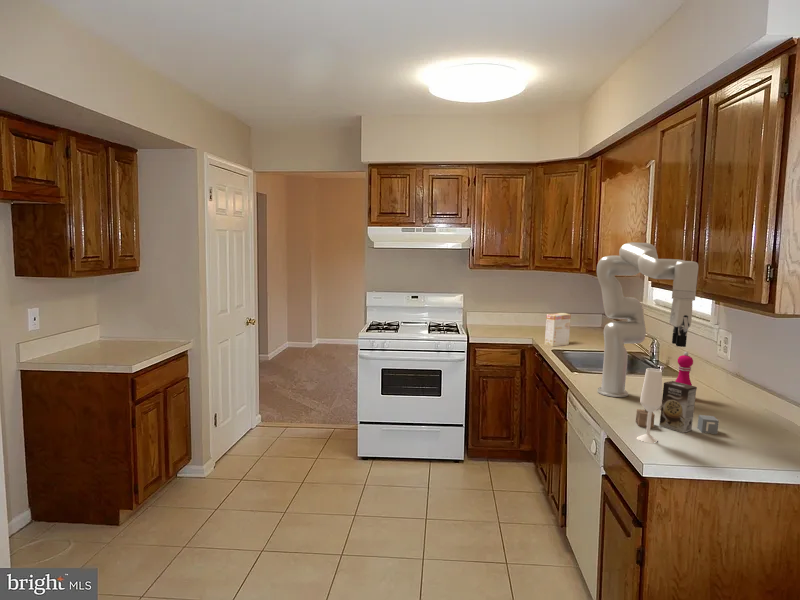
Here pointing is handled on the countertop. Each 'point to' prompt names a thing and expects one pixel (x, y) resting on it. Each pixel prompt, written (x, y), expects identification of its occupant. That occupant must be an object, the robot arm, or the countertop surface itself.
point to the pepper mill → (684, 369)
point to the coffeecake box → (557, 329)
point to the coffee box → (677, 406)
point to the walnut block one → (644, 418)
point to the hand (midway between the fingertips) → (678, 344)
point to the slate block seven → (708, 424)
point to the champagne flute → (651, 398)
